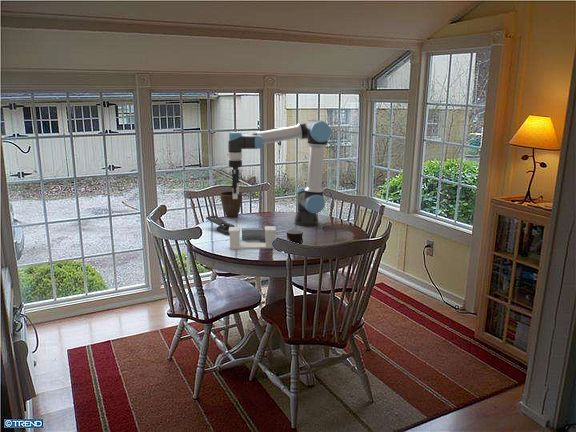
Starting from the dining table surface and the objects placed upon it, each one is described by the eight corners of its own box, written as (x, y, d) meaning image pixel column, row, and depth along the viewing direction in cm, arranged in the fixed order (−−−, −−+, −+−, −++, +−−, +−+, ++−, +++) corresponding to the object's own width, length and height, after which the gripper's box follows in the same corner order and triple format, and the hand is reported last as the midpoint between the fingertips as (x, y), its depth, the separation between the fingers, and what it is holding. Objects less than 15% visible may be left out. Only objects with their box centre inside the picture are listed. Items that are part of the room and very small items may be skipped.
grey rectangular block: (263, 238, 280) (263, 228, 279) (263, 240, 276) (263, 229, 275) (242, 238, 279) (241, 228, 278) (241, 240, 275) (241, 230, 274)
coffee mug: (285, 247, 262) (285, 229, 260) (301, 247, 263) (301, 229, 260) (287, 254, 251) (287, 235, 248) (304, 254, 252) (304, 235, 249)
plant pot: (220, 219, 320) (220, 195, 316) (220, 214, 334) (219, 191, 330) (243, 219, 322) (243, 195, 318) (242, 213, 336) (241, 190, 333)
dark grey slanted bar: (216, 214, 306) (240, 222, 288) (216, 225, 308) (240, 233, 290) (204, 217, 301) (227, 224, 282) (204, 227, 302) (227, 236, 284)
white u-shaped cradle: (275, 243, 269) (275, 226, 266) (276, 248, 261) (275, 230, 259) (229, 244, 267) (229, 226, 265) (229, 249, 259) (228, 230, 257)
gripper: (230, 157, 290) (231, 192, 295) (226, 162, 266) (227, 201, 271) (243, 157, 290) (243, 192, 296) (240, 162, 266) (241, 200, 271)
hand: (235, 196), depth 283 cm, fingers open, 13 cm apart
